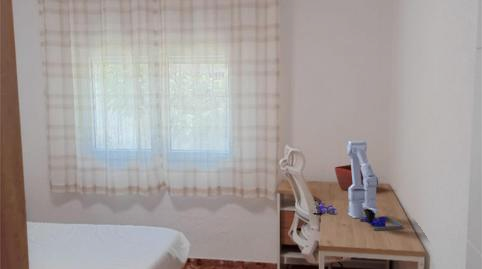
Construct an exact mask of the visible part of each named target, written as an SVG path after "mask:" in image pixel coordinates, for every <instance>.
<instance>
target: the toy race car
mask: <svg viewBox="0 0 482 269" xmlns="http://www.w3.org/2000/svg"><path fill="white" fill-rule="evenodd" d="M313 201H314V202H315V205H316V209H317V212H318V214H317V215H319V214H325V213H326V212H327V213H329V215H337V214H338V212H337V208H335V207H334V206H333V205H328V206H327V207H326V206H325V202H321V203H319V200H313Z"/></svg>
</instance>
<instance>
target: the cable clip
mask: <svg viewBox="0 0 482 269" xmlns="http://www.w3.org/2000/svg"><path fill="white" fill-rule="evenodd" d="M385 216H386V215H382V216H378V217H379V220H376V218H375V217H376V215H375V216H374V219H373V223H368V221H367V217H365V221H364V222H365V223H367V224H369V225H371V226H374V227H383V226H387V224H386V222H387V220H386V217H385Z"/></svg>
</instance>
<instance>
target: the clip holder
mask: <svg viewBox="0 0 482 269" xmlns="http://www.w3.org/2000/svg"><path fill="white" fill-rule="evenodd" d="M384 216H385V217H386V221H388V222H390V223H391V224H393V225H386V226H383V227H377V226H373V229H372V230H373V231H384V230H396V229H397V230H399V229H403V226H404V224H403V223H400V222H399V221H397V220H395V219H394V218H392V217H390V216H388V215H384ZM379 217H380V216H375V218H376V220H377V221H378V220H379ZM359 222H365V218H359Z"/></svg>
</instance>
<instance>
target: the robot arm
mask: <svg viewBox="0 0 482 269" xmlns="http://www.w3.org/2000/svg"><path fill="white" fill-rule="evenodd" d="M367 147H368V145H367V142H366V140H352V141H351V140H349V141H348V142H347V144H346V152H347V156H349V157H350V165H351V170H352V181H353V185H351V186H350V187H349V188H348V191H347V192H348V193H347V198H348V200H349V202H348V212H347V215H348V216H350V217H352V218H353V219H360V218H365V217H367V221H368V223H367V224H369V223H373V219H374V216H375V217H376V215H377V214H379V211H380V210H379V209H378V207H377V187H378V185H379V178H378V176H377V175H376V174H375V173H374V170H373V168H372V165H371V164H369V162H368V158H367V154H366V152H367ZM360 164H361V165H360ZM360 166H361V171H362V174H363V177H364V179H363V184H364V186H363V185H362V184H361V174H360ZM354 189H361V190H354Z"/></svg>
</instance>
